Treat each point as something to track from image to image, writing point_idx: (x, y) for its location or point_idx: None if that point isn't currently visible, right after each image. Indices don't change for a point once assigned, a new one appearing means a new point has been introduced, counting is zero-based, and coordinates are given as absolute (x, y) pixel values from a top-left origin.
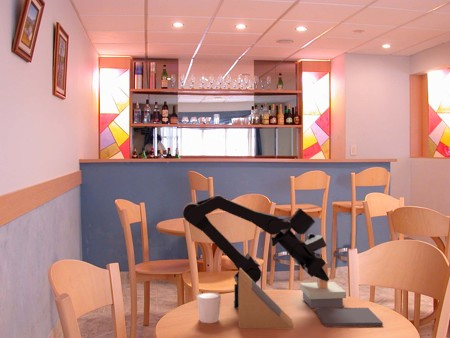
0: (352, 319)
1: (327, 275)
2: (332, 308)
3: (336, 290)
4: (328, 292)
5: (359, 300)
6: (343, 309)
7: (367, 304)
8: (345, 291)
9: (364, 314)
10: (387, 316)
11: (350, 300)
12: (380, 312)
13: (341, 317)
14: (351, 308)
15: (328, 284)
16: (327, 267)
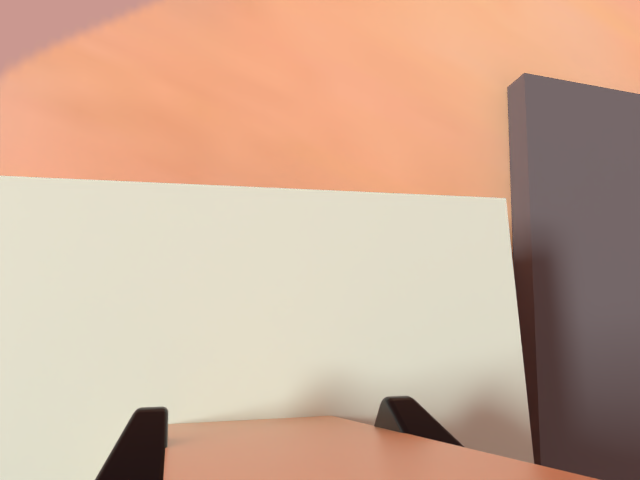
0: None
1: (418, 440)
2: (553, 424)
3: (451, 308)
4: (529, 457)
5: (190, 14)
6: (579, 318)
7: (327, 3)
8: (497, 199)
9: None
10: (622, 7)
11: (177, 101)
12: (538, 9)
13: None
14: (550, 229)
15: (92, 329)
16: (546, 474)
